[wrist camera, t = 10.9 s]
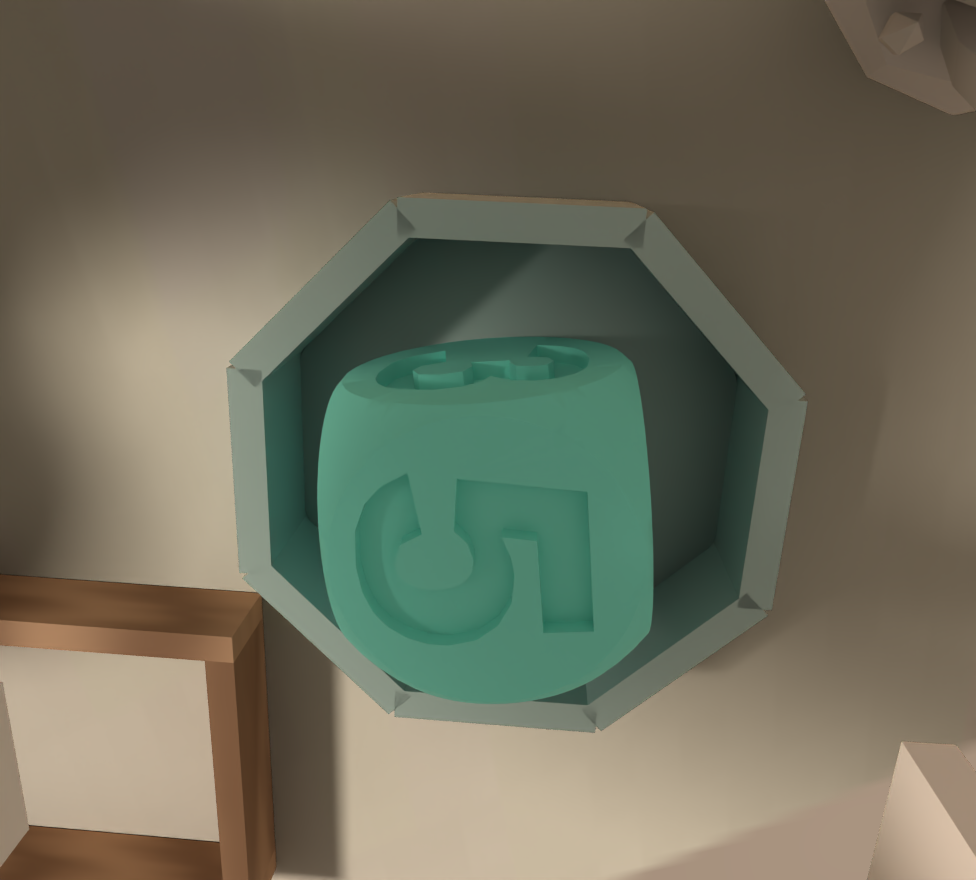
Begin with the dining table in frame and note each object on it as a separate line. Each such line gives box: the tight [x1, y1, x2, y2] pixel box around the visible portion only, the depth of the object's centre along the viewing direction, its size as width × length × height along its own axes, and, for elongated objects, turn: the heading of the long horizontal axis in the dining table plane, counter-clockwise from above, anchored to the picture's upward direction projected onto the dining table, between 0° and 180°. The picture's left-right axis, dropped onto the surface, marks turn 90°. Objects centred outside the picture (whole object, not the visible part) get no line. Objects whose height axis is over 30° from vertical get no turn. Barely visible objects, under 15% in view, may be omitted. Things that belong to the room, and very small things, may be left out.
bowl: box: [226, 192, 808, 733], centre depth 25 cm, size 16×16×4 cm
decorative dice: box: [317, 337, 653, 704], centre depth 23 cm, size 8×8×8 cm
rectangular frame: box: [0, 575, 276, 880], centre depth 31 cm, size 20×13×3 cm, turn 88°
